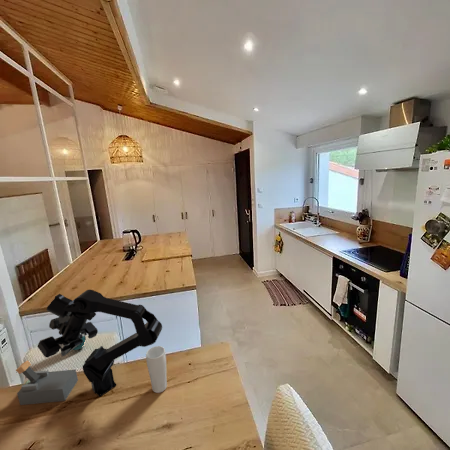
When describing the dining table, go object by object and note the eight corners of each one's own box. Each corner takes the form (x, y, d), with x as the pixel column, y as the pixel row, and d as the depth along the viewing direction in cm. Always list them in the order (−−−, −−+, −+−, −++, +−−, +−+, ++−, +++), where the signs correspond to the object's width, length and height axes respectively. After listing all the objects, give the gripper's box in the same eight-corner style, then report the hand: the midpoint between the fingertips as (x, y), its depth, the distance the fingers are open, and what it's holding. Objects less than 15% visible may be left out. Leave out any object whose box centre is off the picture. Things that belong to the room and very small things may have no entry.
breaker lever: (42, 375, 93) (27, 360, 92) (36, 382, 90) (21, 366, 89) (37, 378, 93) (22, 363, 92) (31, 386, 90) (15, 370, 89)
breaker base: (78, 380, 98) (75, 366, 97) (65, 400, 89) (61, 385, 88) (37, 384, 97) (33, 369, 96) (20, 405, 88) (16, 389, 87)
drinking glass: (172, 385, 93) (169, 349, 90) (158, 398, 88) (154, 361, 85) (160, 377, 97) (156, 343, 94) (146, 390, 92) (141, 354, 89)
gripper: (88, 301, 100) (75, 331, 104) (36, 316, 83) (23, 351, 87) (104, 319, 96) (90, 349, 99) (53, 339, 79) (39, 374, 83)
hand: (62, 355), depth 92 cm, fingers closed
